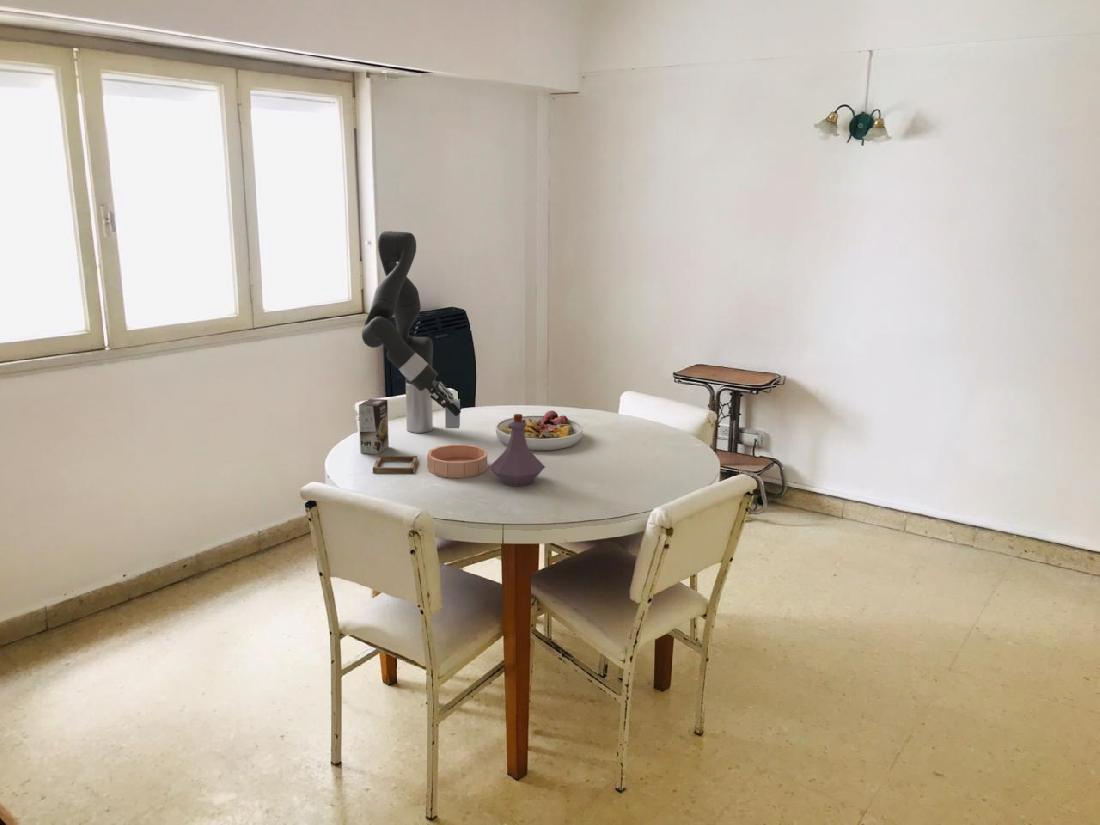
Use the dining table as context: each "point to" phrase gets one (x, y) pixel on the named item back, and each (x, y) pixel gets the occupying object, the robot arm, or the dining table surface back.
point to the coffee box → (373, 426)
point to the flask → (517, 458)
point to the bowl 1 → (457, 461)
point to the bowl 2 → (543, 431)
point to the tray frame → (395, 469)
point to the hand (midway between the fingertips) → (459, 411)
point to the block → (452, 416)
